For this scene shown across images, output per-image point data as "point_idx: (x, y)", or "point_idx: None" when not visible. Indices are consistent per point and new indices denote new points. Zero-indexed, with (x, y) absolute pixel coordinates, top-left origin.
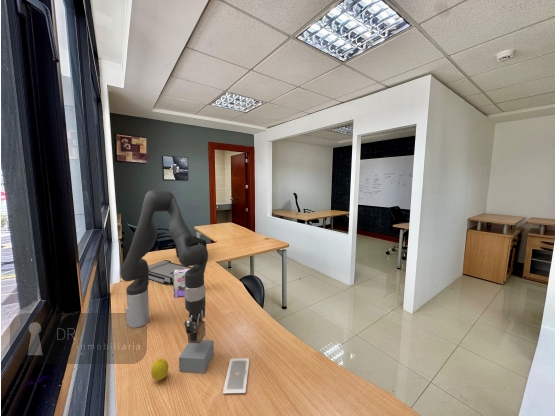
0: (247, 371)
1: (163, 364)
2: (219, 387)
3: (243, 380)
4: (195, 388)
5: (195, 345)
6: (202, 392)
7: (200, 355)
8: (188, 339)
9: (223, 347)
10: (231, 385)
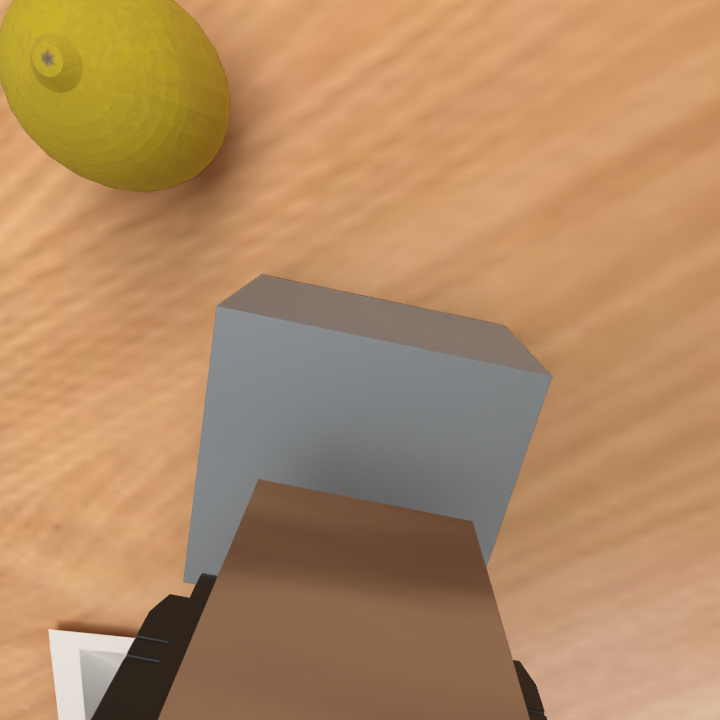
0: None
1: (52, 147)
2: (110, 597)
3: None
4: (96, 447)
5: (408, 460)
6: (66, 499)
7: None
8: (243, 524)
9: (501, 595)
10: (108, 674)
